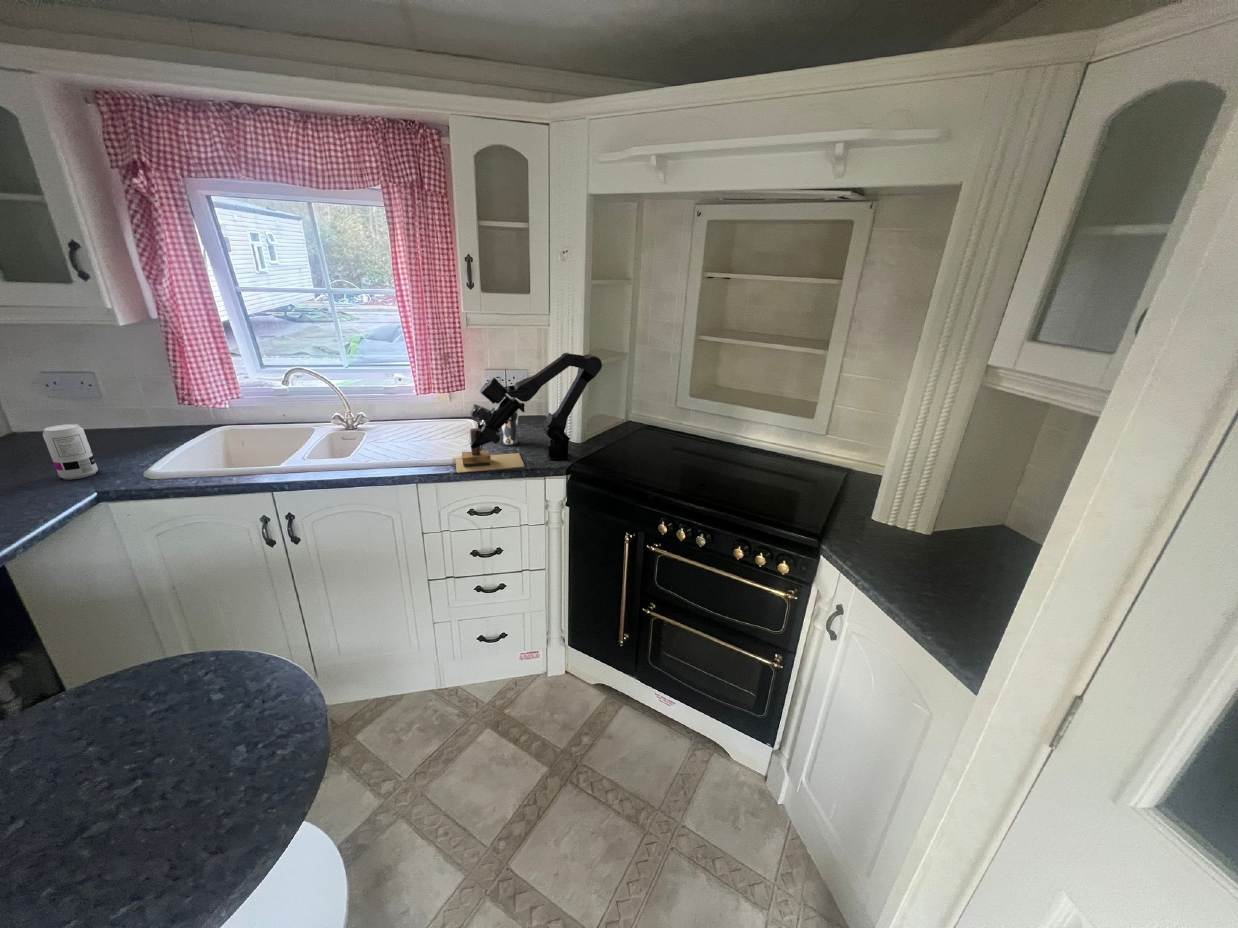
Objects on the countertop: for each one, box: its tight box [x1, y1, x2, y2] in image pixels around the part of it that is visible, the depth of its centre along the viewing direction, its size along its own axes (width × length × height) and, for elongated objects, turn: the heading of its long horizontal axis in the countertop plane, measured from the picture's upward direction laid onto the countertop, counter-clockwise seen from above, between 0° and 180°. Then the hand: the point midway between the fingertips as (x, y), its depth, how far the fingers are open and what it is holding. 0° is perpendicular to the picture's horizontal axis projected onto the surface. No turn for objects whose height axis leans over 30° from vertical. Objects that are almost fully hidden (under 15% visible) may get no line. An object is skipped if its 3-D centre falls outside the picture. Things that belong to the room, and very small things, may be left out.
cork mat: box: [454, 452, 526, 474], centre depth 169 cm, size 22×14×1 cm, turn 109°
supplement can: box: [42, 423, 99, 480], centre depth 146 cm, size 8×8×15 cm
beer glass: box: [500, 409, 519, 447], centre depth 187 cm, size 7×7×15 cm
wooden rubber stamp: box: [461, 427, 491, 466], centre depth 166 cm, size 9×6×12 cm, turn 109°
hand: (471, 446), depth 165 cm, fingers closed on wooden rubber stamp, 3 cm apart
